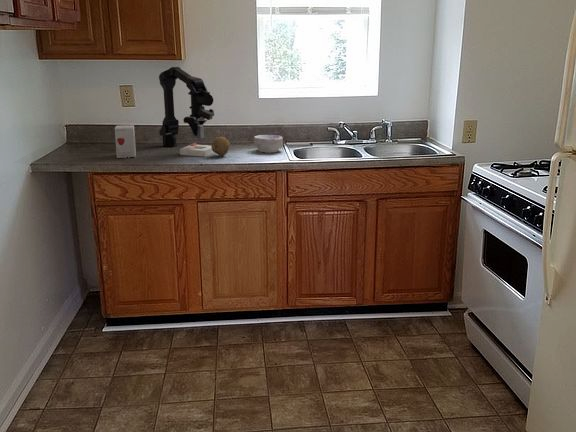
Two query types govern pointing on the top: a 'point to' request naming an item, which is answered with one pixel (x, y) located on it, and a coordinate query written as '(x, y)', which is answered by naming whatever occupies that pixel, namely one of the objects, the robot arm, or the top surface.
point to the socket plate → (196, 150)
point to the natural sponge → (220, 146)
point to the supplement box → (125, 141)
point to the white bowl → (268, 143)
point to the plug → (199, 132)
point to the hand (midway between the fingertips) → (197, 135)
